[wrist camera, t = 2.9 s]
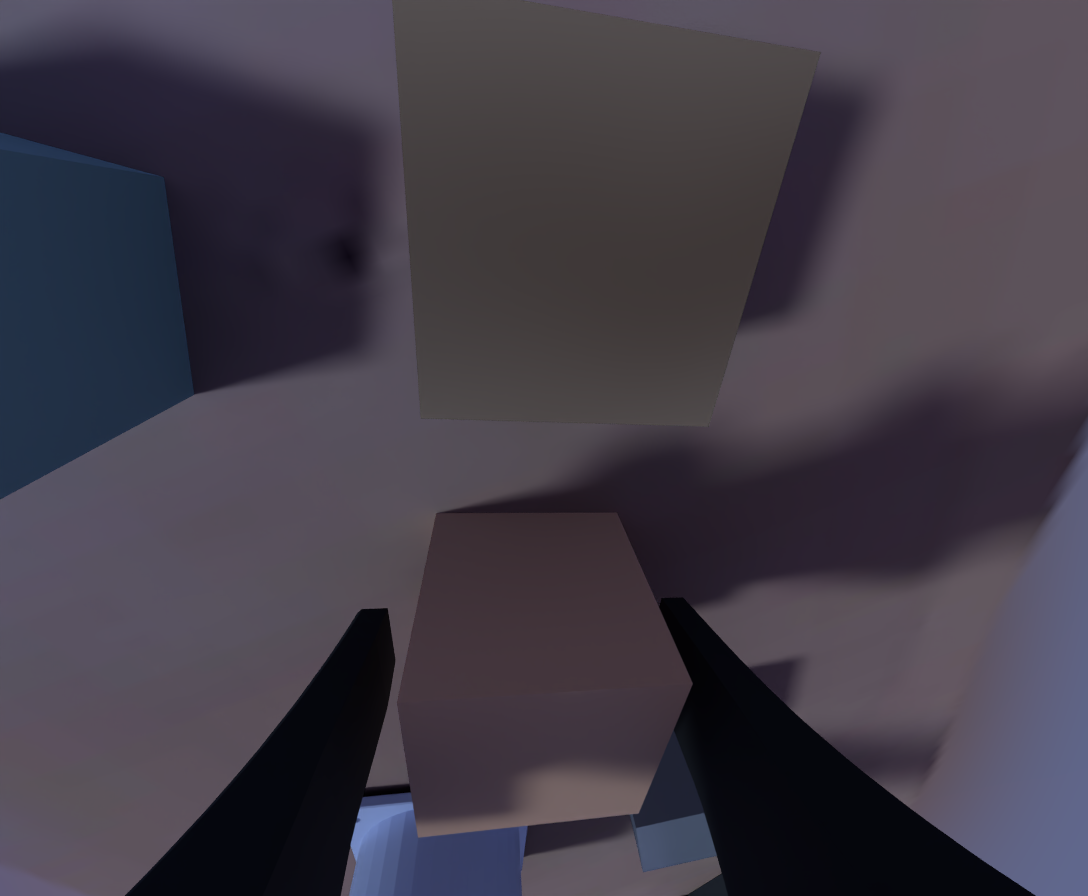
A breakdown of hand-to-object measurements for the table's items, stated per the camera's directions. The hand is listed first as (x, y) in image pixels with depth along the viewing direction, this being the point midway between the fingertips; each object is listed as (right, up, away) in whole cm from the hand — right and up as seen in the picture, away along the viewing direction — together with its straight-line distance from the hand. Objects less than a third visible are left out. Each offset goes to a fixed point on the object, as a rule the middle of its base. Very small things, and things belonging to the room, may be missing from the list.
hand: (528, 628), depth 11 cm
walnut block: (0, +9, -3) cm, 9 cm away
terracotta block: (0, +1, +2) cm, 2 cm away
